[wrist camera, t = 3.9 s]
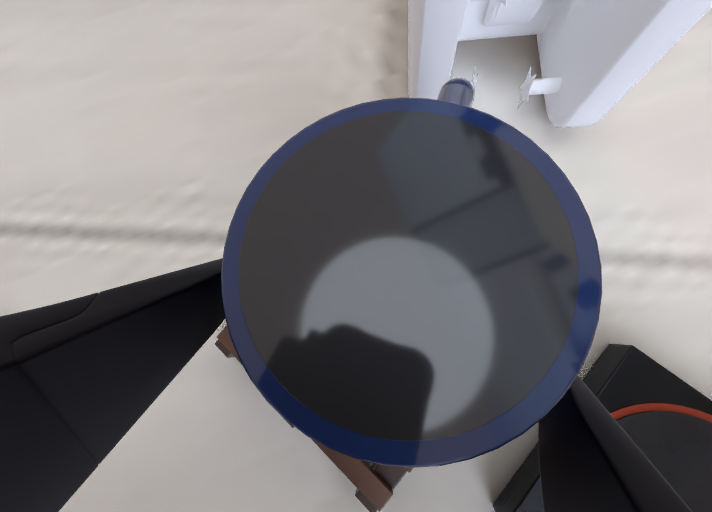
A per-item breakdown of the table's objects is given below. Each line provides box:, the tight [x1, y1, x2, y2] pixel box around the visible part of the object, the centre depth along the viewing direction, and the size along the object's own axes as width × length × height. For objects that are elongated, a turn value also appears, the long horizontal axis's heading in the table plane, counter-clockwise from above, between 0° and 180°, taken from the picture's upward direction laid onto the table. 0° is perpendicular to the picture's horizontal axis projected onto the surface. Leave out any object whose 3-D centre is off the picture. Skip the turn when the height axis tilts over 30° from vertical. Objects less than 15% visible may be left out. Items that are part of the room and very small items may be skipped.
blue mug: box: [222, 77, 602, 468], centre depth 11 cm, size 10×7×11 cm
